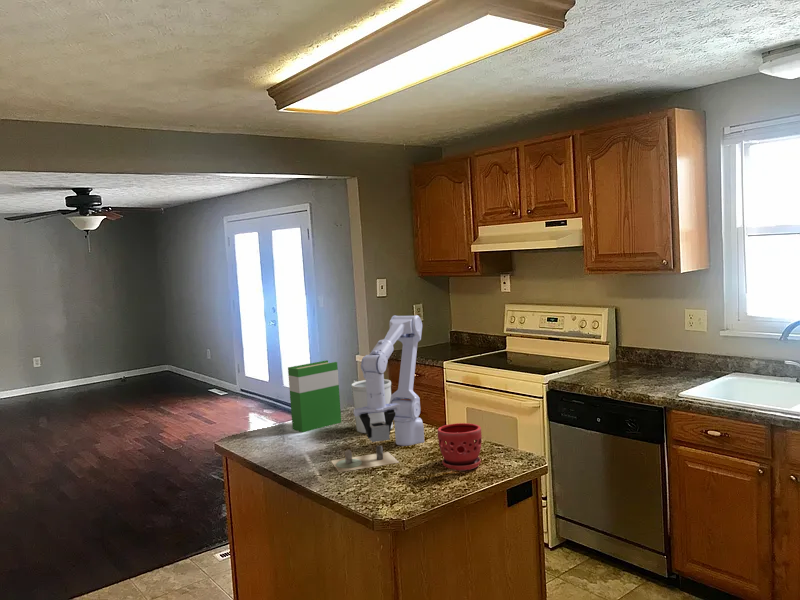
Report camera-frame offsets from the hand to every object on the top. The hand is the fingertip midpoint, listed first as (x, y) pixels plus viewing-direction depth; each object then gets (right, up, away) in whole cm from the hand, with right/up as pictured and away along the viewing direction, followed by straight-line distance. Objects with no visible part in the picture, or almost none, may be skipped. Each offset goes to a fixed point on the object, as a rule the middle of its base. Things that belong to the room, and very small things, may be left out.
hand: (378, 435), depth 208 cm
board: (-4, -9, -1) cm, 10 cm away
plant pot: (+25, -8, -8) cm, 28 cm away
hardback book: (-25, -7, +50) cm, 56 cm away
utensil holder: (-3, -6, +40) cm, 41 cm away
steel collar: (0, -1, 0) cm, 1 cm away
